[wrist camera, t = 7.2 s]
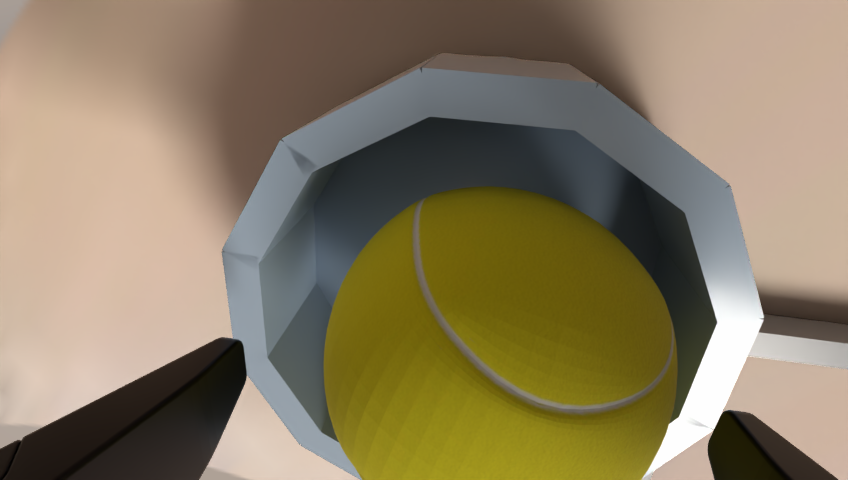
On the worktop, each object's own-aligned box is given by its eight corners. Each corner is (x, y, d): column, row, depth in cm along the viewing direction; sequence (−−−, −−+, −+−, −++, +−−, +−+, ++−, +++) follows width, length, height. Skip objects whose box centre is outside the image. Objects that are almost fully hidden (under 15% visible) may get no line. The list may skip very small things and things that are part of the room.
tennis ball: (411, 110, 12) (332, 211, 6) (669, 209, 12) (875, 411, 6) (338, 327, 15) (232, 555, 8) (547, 401, 15) (596, 674, 9)
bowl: (741, 76, 11) (862, 105, 7) (623, 423, 16) (661, 543, 12) (284, 38, 12) (195, 48, 8) (302, 376, 17) (251, 474, 13)
